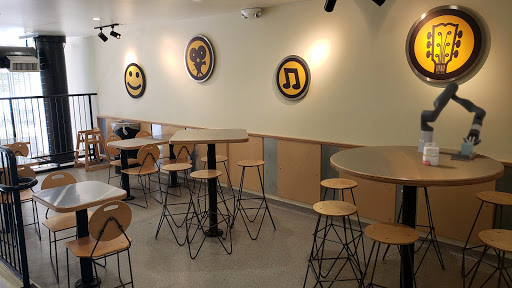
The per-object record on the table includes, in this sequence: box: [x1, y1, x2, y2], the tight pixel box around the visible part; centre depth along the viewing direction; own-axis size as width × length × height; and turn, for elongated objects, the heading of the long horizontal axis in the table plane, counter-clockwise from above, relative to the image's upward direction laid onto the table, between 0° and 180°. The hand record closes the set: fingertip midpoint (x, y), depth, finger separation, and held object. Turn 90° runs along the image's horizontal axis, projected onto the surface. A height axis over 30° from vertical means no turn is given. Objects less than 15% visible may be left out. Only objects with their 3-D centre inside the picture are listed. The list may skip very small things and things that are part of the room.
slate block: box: [460, 141, 474, 155], centre depth 286 cm, size 8×6×9 cm
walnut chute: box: [450, 150, 478, 163], centre depth 282 cm, size 23×12×4 cm, turn 138°
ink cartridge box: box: [422, 142, 440, 166], centre depth 260 cm, size 9×5×15 cm, turn 84°
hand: (469, 149), depth 291 cm, fingers closed
